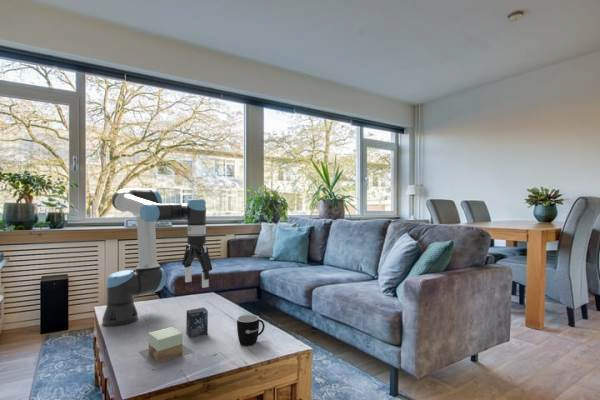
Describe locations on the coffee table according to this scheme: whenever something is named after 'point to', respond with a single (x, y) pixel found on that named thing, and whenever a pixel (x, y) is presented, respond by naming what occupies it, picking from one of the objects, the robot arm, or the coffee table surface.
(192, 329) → the box
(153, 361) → the felt mat
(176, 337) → the tower top
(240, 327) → the mug
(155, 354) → the tower bottom
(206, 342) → the coffee table surface
